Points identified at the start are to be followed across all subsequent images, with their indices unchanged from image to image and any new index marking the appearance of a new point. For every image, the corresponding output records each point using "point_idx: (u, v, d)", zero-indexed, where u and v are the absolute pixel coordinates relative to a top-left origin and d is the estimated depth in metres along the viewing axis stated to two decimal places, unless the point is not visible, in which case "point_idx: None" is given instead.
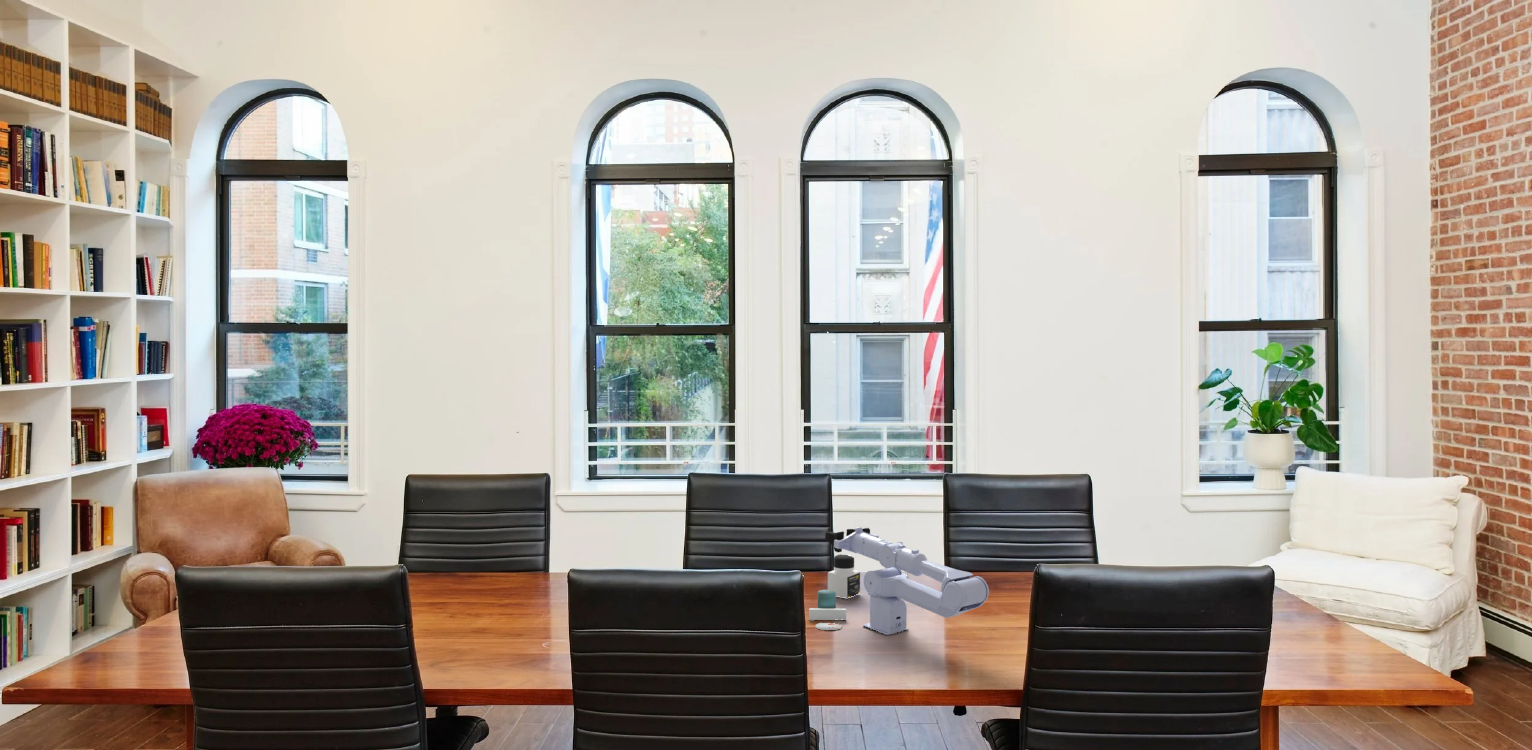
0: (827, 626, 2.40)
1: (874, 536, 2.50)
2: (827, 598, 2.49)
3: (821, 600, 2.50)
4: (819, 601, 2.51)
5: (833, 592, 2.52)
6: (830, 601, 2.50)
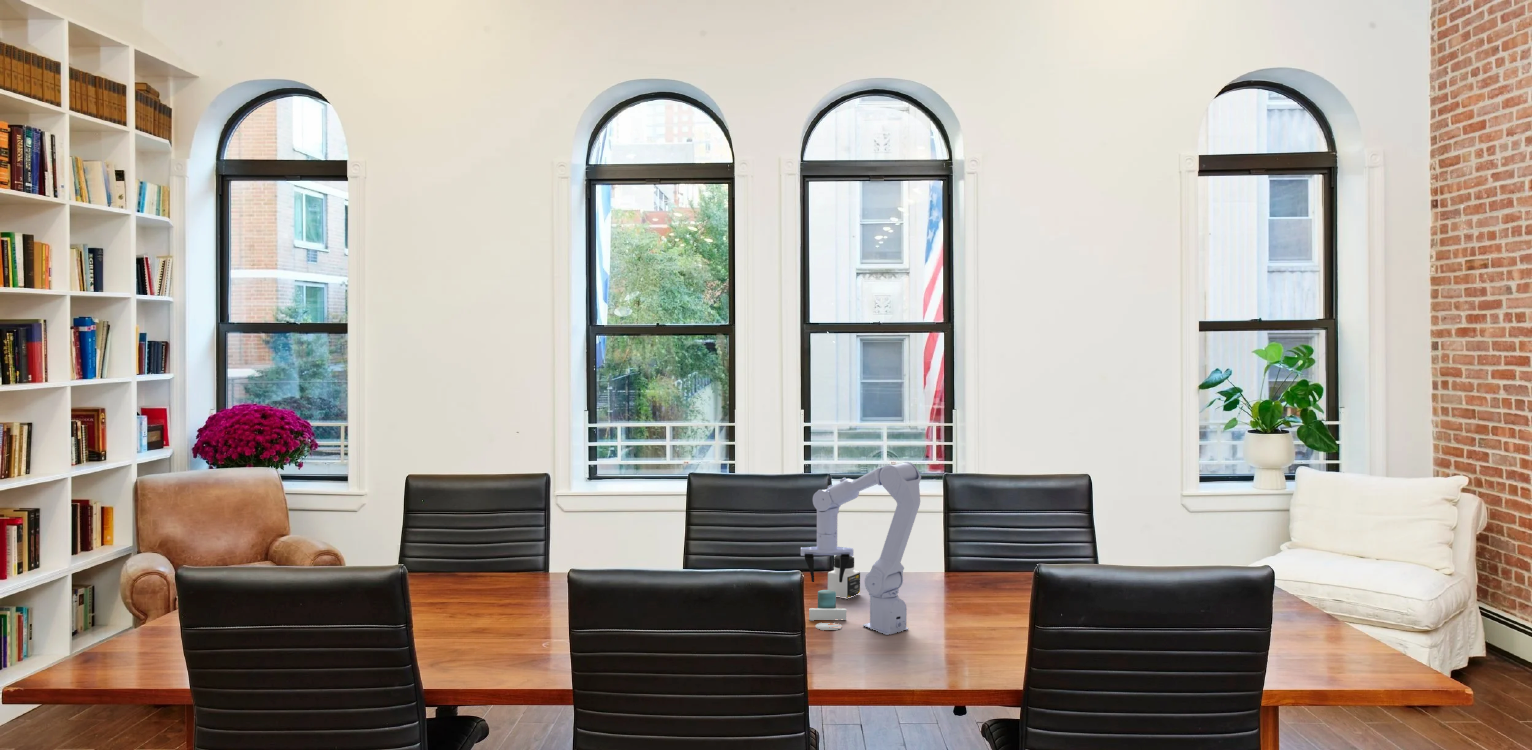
0: (827, 626, 2.40)
1: None
2: (827, 598, 2.49)
3: (821, 600, 2.50)
4: (819, 601, 2.51)
5: (833, 592, 2.52)
6: (831, 601, 2.50)
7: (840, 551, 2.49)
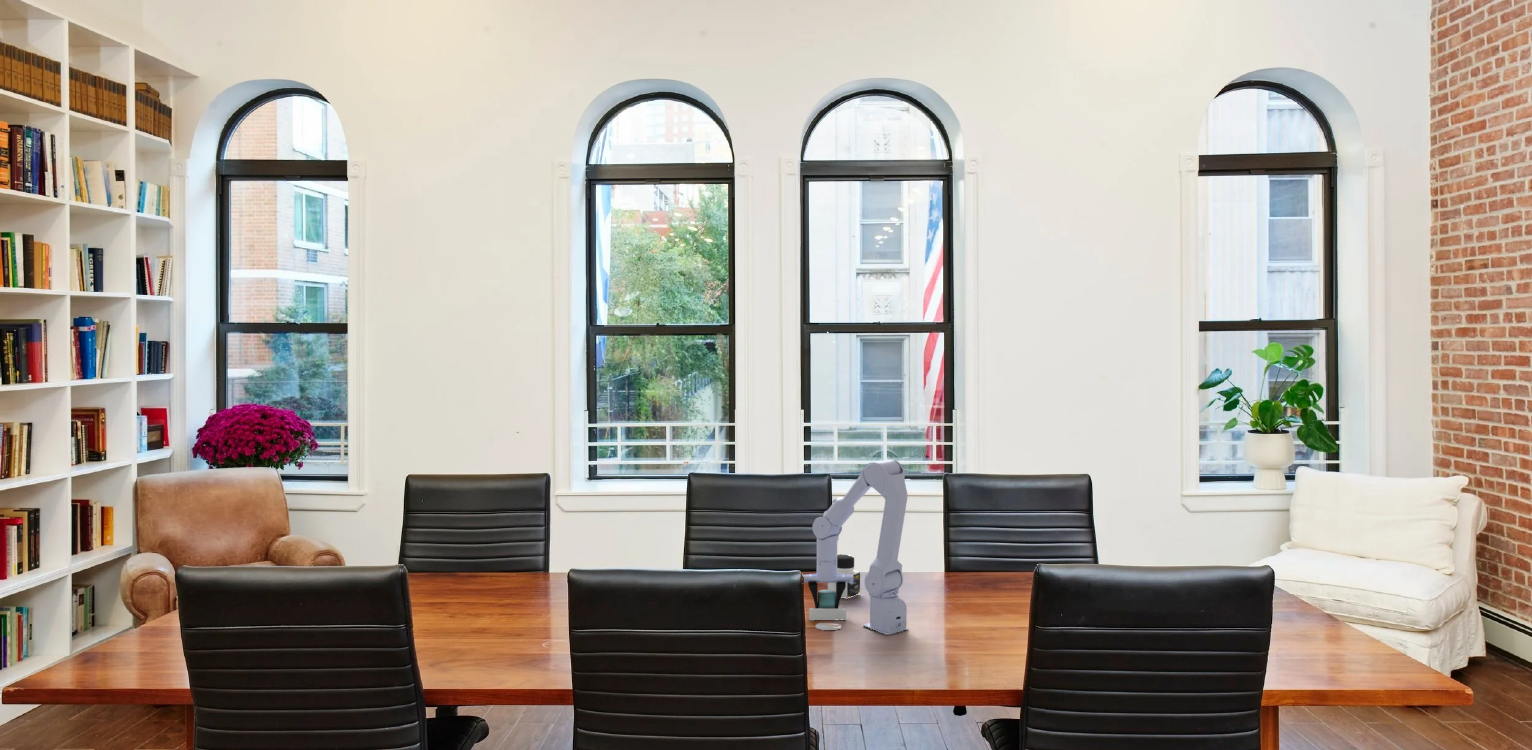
0: (827, 626, 2.40)
1: None
2: (827, 598, 2.49)
3: (821, 599, 2.50)
4: (819, 601, 2.51)
5: (833, 592, 2.52)
6: (830, 601, 2.50)
7: (840, 578, 2.50)
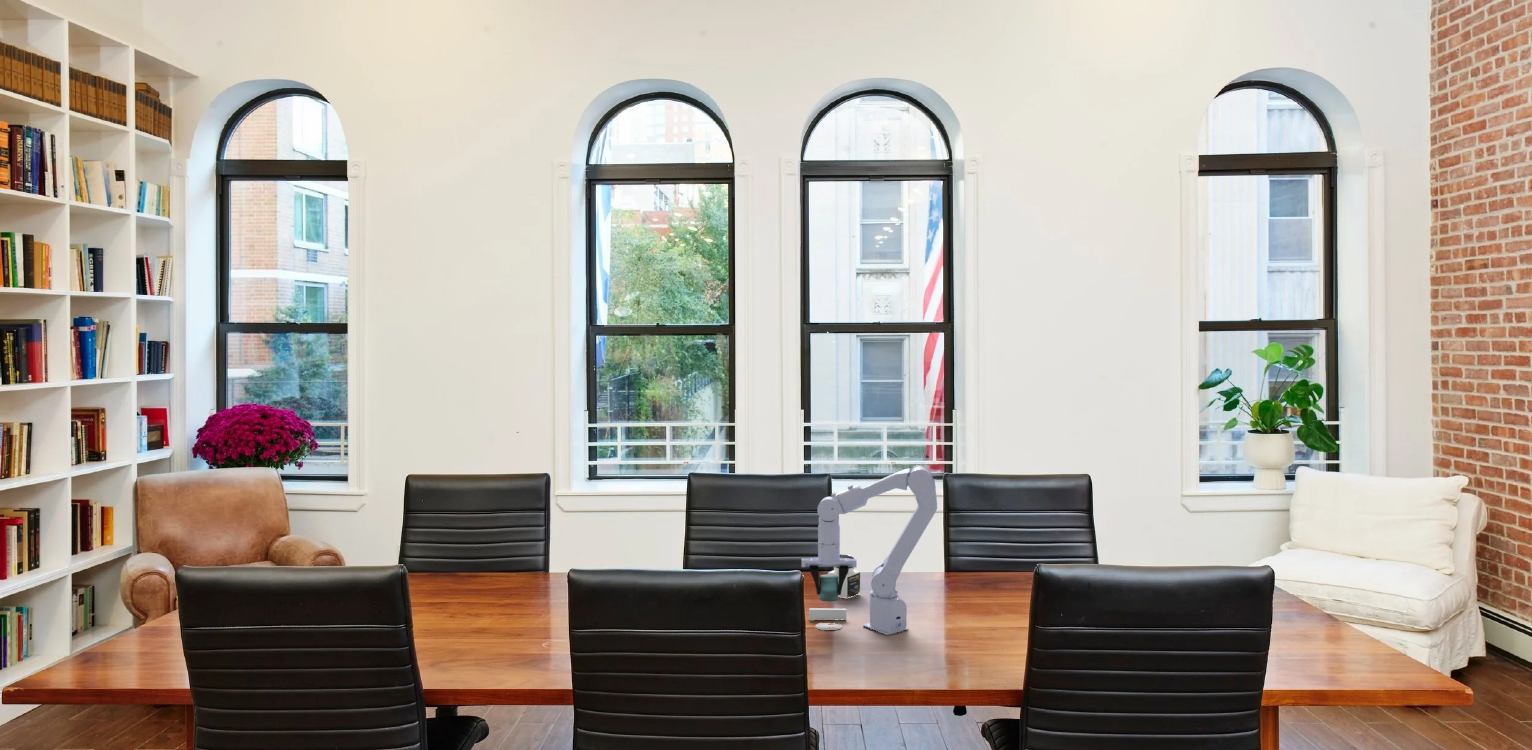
0: (827, 626, 2.40)
1: None
2: (829, 582, 2.39)
3: (823, 584, 2.40)
4: (821, 585, 2.40)
5: (835, 576, 2.41)
6: (833, 586, 2.39)
7: (842, 562, 2.39)
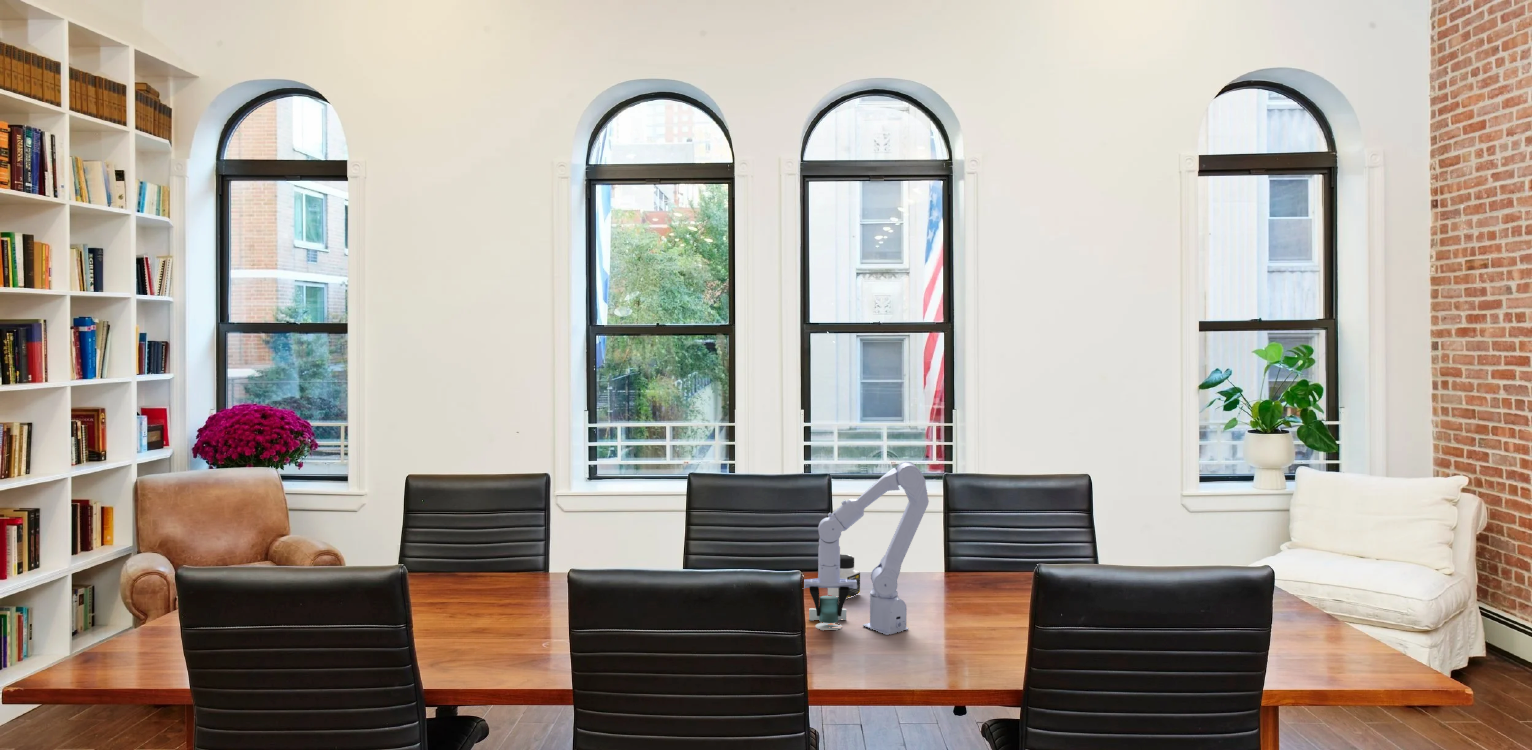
0: (827, 626, 2.40)
1: None
2: (829, 604, 2.38)
3: (823, 605, 2.38)
4: (821, 607, 2.39)
5: (835, 598, 2.40)
6: (833, 607, 2.38)
7: (843, 584, 2.38)
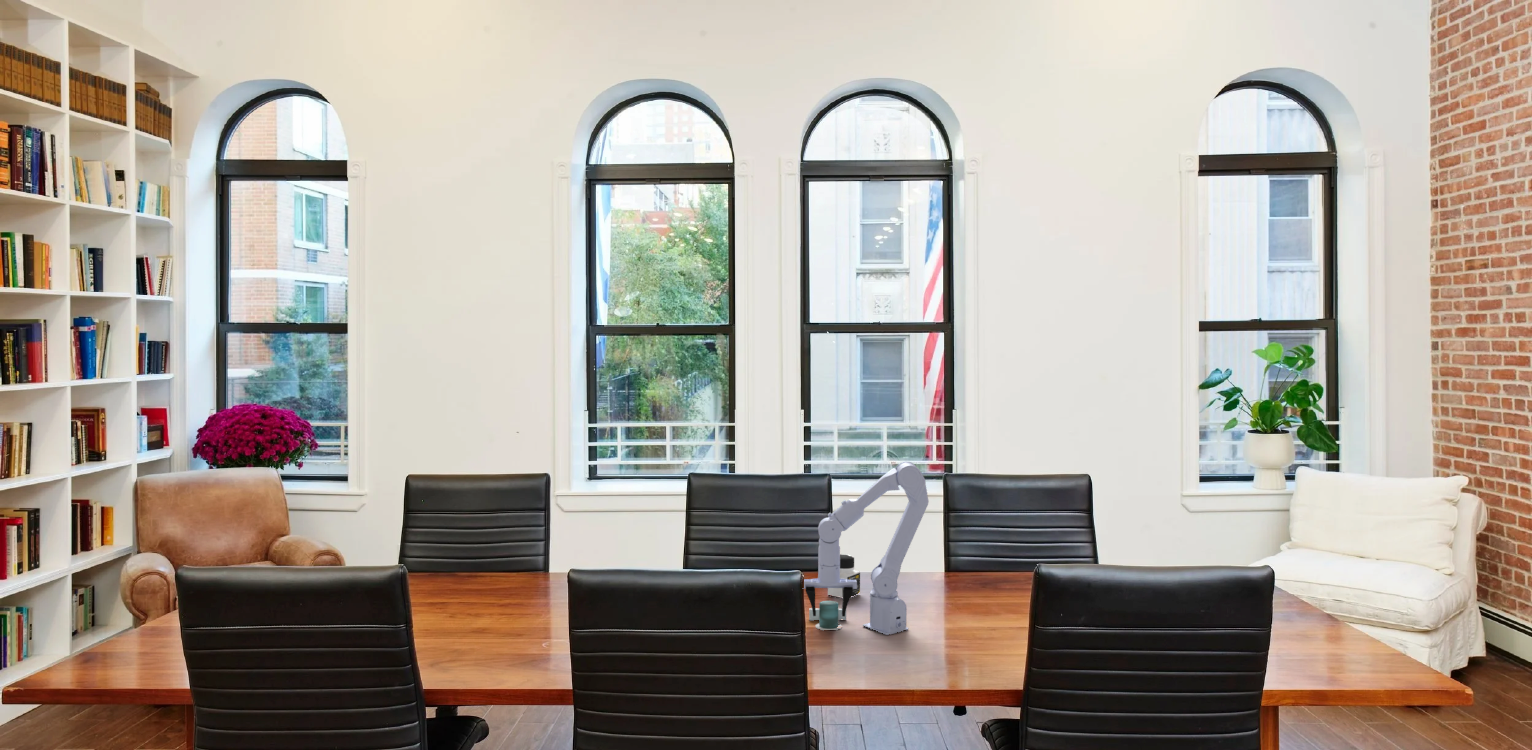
0: None
1: None
2: (829, 610, 2.37)
3: (823, 611, 2.38)
4: (821, 613, 2.39)
5: (835, 603, 2.40)
6: (833, 613, 2.38)
7: (843, 584, 2.38)
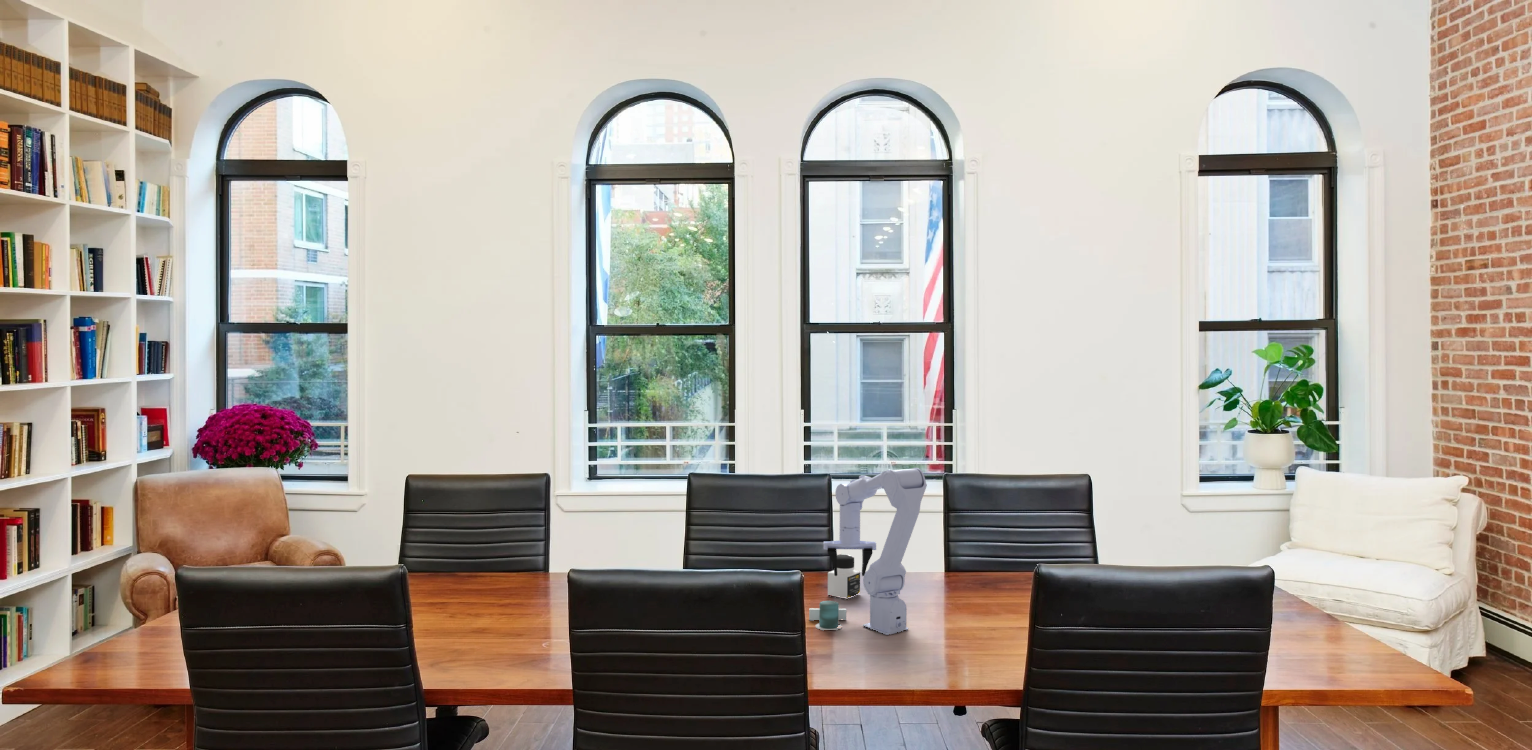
0: None
1: None
2: (829, 610, 2.37)
3: (823, 611, 2.38)
4: (821, 613, 2.39)
5: (836, 603, 2.40)
6: (833, 613, 2.38)
7: (863, 545, 2.51)
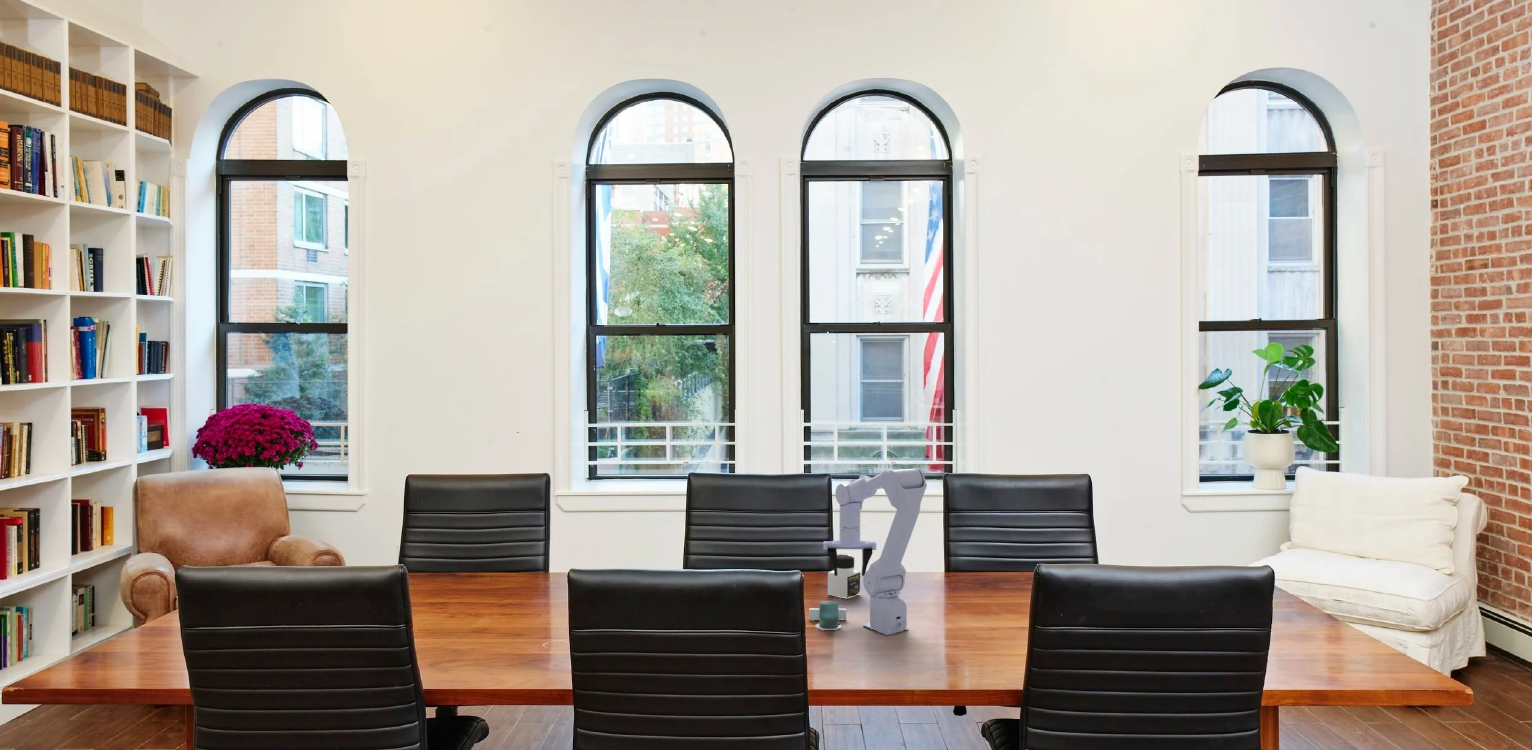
0: None
1: None
2: (829, 610, 2.37)
3: (823, 611, 2.38)
4: (821, 613, 2.39)
5: (835, 603, 2.40)
6: (833, 613, 2.38)
7: (863, 545, 2.51)
